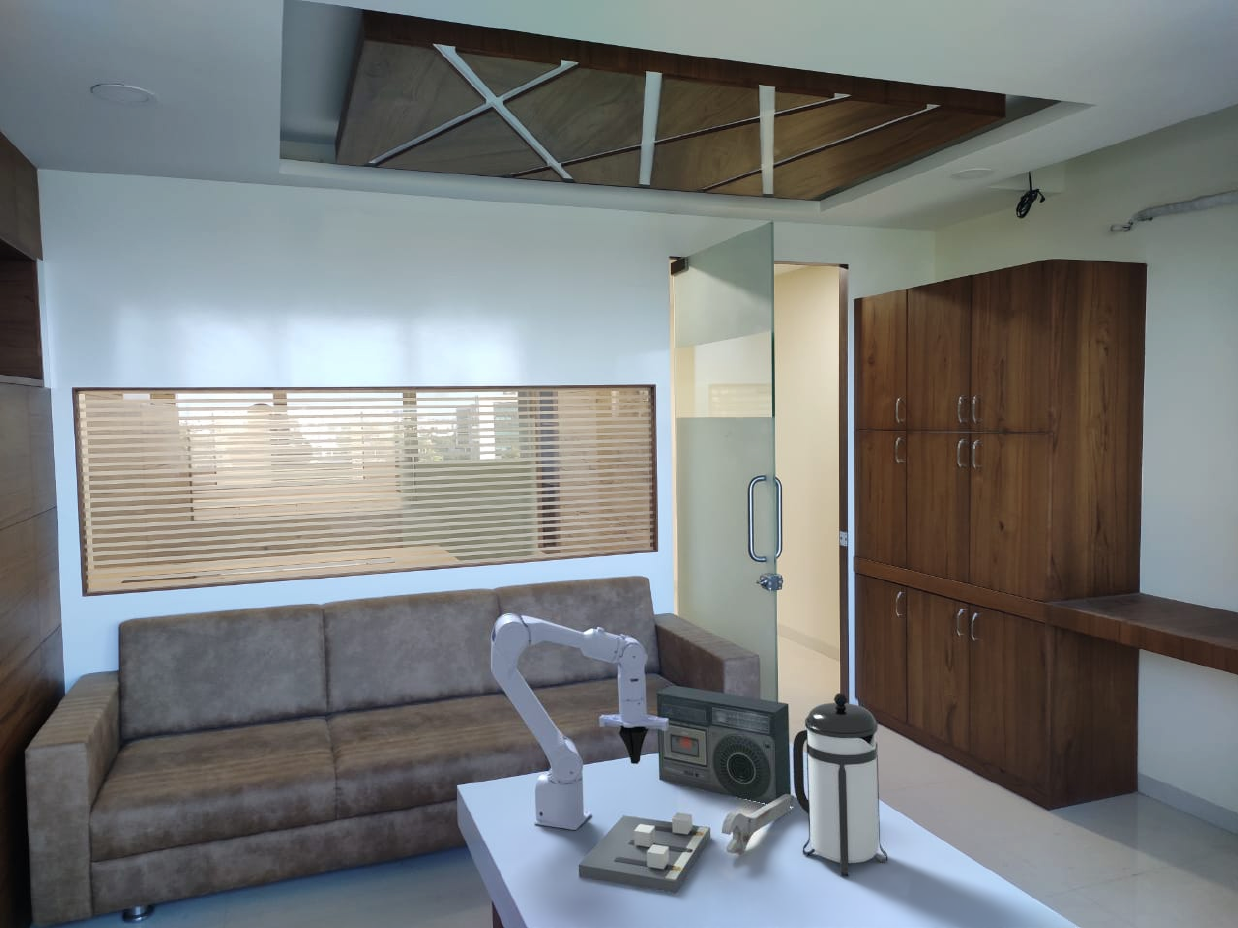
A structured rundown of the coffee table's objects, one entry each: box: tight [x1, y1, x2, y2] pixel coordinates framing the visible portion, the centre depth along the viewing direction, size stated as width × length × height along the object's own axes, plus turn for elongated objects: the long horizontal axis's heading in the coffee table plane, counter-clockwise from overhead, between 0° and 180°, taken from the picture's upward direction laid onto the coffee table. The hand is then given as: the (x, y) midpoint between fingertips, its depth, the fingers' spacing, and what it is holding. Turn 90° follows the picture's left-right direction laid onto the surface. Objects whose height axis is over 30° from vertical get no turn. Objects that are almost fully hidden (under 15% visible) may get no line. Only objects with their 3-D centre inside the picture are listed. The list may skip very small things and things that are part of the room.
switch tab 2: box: [671, 812, 693, 835], centre depth 163 cm, size 3×3×3 cm
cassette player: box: [656, 685, 792, 804], centre depth 188 cm, size 29×7×20 cm, turn 55°
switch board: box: [578, 815, 711, 894], centre depth 158 cm, size 18×22×2 cm
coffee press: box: [792, 692, 888, 877], centre depth 155 cm, size 17×16×30 cm
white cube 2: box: [634, 824, 655, 847], centre depth 158 cm, size 3×3×3 cm
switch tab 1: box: [647, 844, 669, 869], centre depth 150 cm, size 3×3×3 cm
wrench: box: [721, 794, 796, 855], centre depth 166 cm, size 8×2×30 cm
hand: (635, 761), depth 177 cm, fingers closed
